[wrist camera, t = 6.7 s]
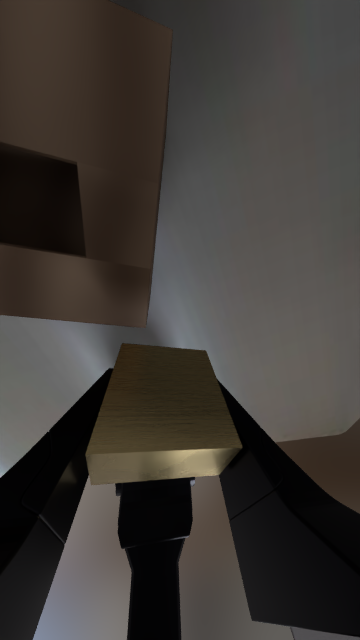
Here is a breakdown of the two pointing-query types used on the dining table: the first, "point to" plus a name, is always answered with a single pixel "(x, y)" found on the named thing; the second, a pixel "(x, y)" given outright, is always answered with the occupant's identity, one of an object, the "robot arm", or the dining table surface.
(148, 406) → the yellow square block
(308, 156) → the dining table surface
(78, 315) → the walnut box
